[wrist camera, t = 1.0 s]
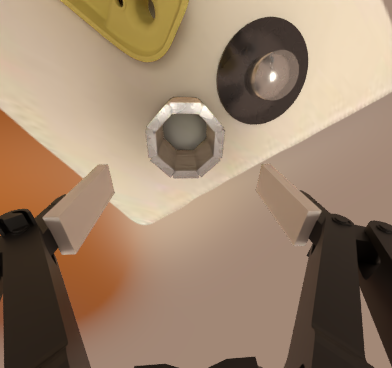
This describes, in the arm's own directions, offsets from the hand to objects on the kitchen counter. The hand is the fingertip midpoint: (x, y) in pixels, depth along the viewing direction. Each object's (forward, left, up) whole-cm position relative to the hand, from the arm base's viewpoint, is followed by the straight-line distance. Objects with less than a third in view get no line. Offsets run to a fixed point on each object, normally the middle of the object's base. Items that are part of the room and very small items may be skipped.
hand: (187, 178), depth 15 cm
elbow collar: (0, 0, -18) cm, 18 cm away
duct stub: (-8, +12, -18) cm, 23 cm away
